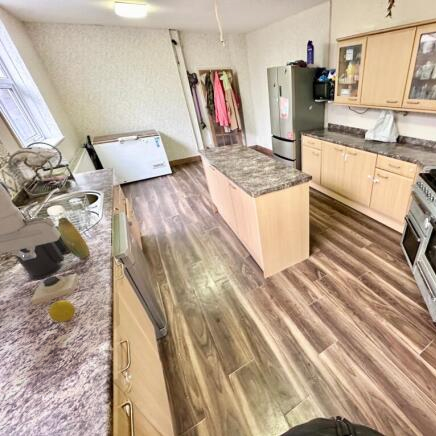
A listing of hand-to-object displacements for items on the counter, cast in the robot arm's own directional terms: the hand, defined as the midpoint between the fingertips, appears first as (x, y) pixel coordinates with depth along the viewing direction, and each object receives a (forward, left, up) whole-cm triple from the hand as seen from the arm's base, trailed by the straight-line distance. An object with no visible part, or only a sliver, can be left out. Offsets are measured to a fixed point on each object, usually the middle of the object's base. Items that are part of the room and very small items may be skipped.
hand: (30, 258), depth 79 cm
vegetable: (+6, +18, -15) cm, 24 cm away
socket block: (+1, -1, -15) cm, 15 cm away
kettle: (-6, +15, -15) cm, 22 cm away
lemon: (+8, -20, -15) cm, 27 cm away
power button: (+1, -1, -11) cm, 11 cm away
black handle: (-4, +30, -15) cm, 34 cm away
